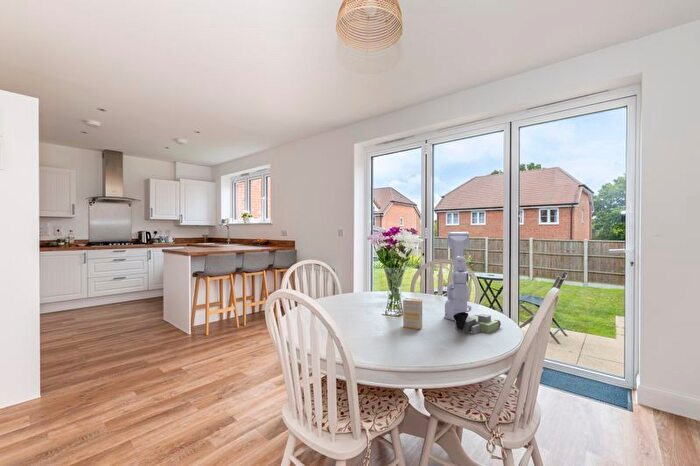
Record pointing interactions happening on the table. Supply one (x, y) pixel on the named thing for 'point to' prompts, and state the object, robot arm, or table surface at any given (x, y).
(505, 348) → the table surface
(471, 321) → the grey block
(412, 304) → the supplement box
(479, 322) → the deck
